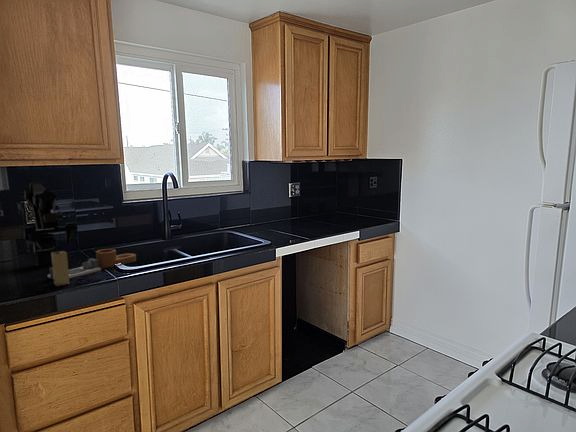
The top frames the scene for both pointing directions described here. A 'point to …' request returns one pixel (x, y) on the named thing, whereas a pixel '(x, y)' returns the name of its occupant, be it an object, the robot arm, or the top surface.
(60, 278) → the gold tall square block
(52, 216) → the robot arm
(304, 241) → the top surface
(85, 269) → the plate with raised blocks
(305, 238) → the top surface
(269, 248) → the top surface
